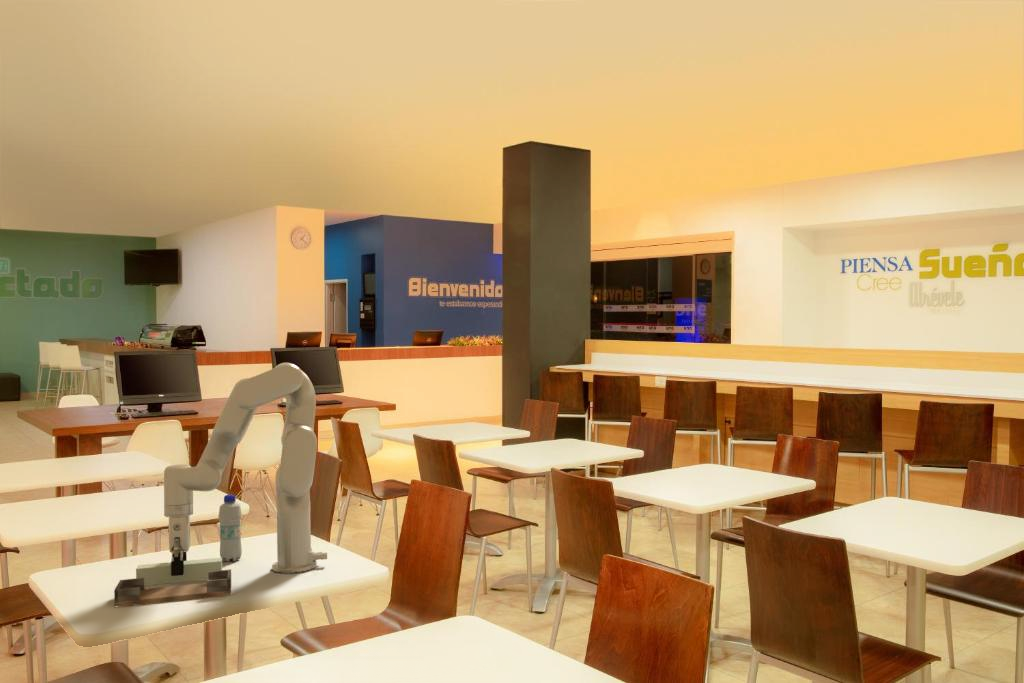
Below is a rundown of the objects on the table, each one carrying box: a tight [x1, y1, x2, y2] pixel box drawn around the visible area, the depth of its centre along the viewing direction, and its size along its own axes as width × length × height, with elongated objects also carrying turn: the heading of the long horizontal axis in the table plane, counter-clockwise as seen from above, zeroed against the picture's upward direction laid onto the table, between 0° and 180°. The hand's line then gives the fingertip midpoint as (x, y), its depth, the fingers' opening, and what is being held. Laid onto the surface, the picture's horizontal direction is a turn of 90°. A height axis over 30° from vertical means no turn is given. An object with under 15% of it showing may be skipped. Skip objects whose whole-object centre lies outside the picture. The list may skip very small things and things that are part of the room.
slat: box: [135, 557, 223, 586], centre depth 228 cm, size 22×4×5 cm, turn 107°
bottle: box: [218, 493, 243, 563], centre depth 248 cm, size 7×7×20 cm
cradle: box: [113, 568, 232, 607], centre depth 214 cm, size 28×10×4 cm, turn 108°
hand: (178, 570), depth 228 cm, fingers open, 9 cm apart
